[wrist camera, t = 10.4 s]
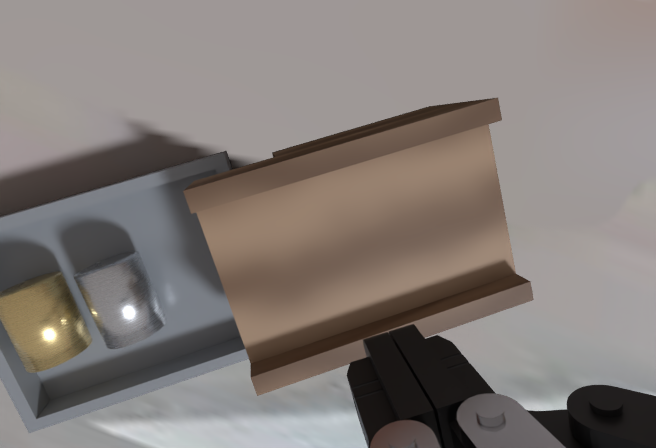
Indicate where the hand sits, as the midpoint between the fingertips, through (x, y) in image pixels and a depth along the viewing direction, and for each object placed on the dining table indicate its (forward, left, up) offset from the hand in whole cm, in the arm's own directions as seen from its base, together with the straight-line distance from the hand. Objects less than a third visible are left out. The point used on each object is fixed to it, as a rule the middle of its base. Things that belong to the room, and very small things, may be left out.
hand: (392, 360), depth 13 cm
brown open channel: (+1, +3, -21) cm, 21 cm away
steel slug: (+1, -14, -17) cm, 22 cm away
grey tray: (+1, -13, -21) cm, 25 cm away
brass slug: (+1, -19, -17) cm, 26 cm away
